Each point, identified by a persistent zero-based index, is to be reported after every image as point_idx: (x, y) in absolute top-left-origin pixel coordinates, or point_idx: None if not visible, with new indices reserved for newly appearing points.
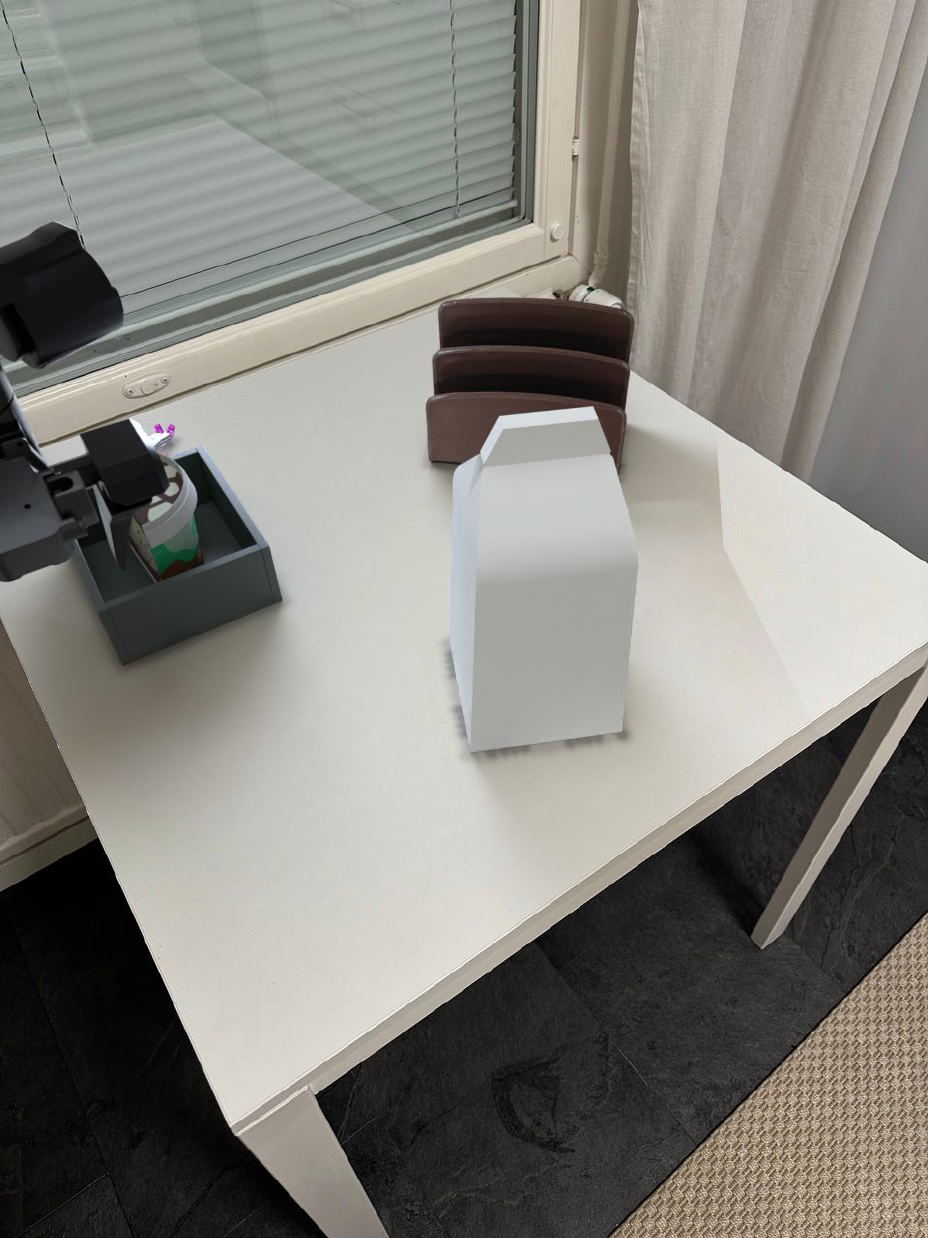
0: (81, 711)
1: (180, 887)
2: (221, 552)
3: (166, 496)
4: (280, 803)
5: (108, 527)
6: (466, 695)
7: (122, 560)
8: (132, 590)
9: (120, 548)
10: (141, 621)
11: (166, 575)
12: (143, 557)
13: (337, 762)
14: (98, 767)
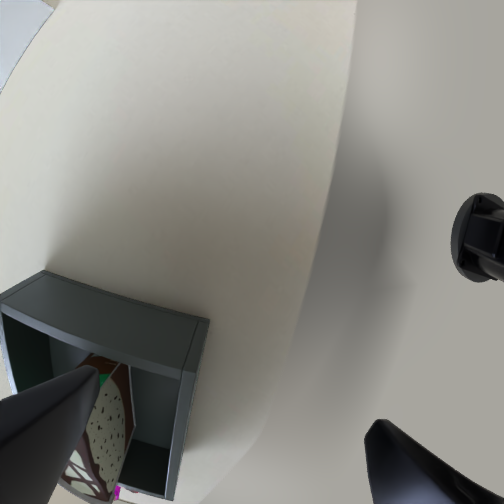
0: (277, 295)
1: (315, 34)
2: (66, 362)
3: None
4: (188, 38)
5: (18, 461)
6: (12, 17)
7: (68, 381)
8: (154, 389)
9: (39, 400)
10: (158, 336)
11: (106, 369)
12: (124, 407)
13: (119, 46)
14: (305, 211)
